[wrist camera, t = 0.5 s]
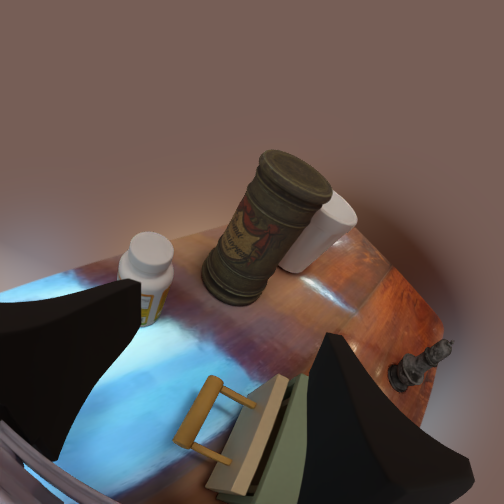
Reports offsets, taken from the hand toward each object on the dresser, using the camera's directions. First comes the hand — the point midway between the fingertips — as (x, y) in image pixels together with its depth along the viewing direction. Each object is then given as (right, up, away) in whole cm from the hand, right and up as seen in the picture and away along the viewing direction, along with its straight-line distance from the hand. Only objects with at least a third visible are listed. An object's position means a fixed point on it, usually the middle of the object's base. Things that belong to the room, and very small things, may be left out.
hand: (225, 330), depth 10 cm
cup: (+7, +1, +37) cm, 38 cm away
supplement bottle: (-12, -3, +19) cm, 23 cm away
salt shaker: (+25, -18, +28) cm, 42 cm away
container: (-2, -1, +29) cm, 29 cm away
